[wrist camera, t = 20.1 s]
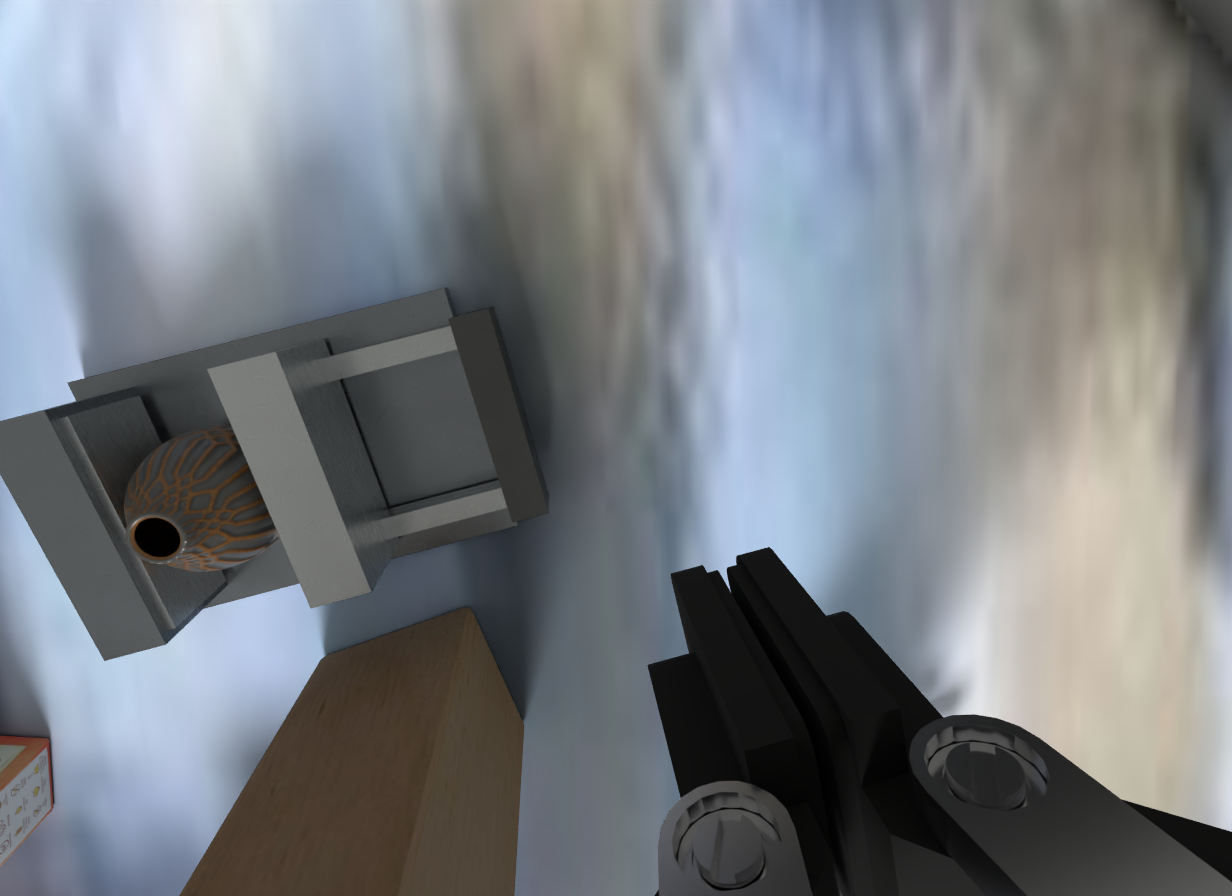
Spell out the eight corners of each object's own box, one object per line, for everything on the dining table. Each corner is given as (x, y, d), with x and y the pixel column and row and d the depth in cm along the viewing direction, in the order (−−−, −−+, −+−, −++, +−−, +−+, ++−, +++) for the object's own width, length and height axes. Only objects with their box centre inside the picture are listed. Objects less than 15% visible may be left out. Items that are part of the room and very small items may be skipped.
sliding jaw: (491, 296, 33) (478, 300, 27) (550, 502, 36) (551, 544, 30) (267, 353, 32) (207, 369, 27) (349, 555, 36) (310, 608, 30)
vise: (447, 287, 34) (421, 290, 27) (519, 517, 38) (511, 571, 31) (84, 379, 33) (-39, 405, 26) (194, 603, 37) (114, 677, 30)
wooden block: (320, 654, 39) (97, 1019, 20) (471, 601, 39) (394, 914, 20) (386, 774, 42) (247, 1196, 23) (527, 725, 42) (507, 1104, 23)
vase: (289, 400, 34) (202, 441, 25) (335, 515, 35) (269, 589, 27) (162, 431, 33) (31, 484, 25) (215, 546, 35) (111, 630, 27)
